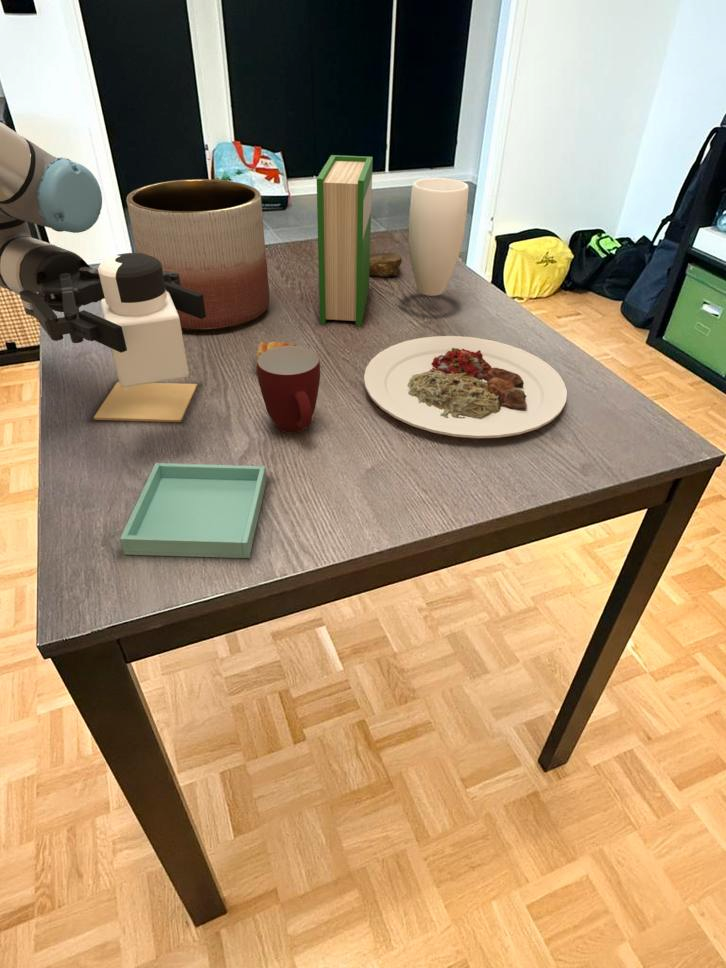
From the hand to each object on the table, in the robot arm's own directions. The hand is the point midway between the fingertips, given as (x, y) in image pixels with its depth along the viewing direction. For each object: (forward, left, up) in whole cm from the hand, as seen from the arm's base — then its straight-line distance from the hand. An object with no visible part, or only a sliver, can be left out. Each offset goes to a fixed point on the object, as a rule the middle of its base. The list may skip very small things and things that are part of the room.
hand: (163, 322), depth 68 cm
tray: (+4, -11, -18) cm, 22 cm away
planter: (-7, +46, -18) cm, 50 cm away
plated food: (+37, +19, -18) cm, 45 cm away
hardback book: (+18, +50, -18) cm, 56 cm away
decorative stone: (+24, +70, -18) cm, 76 cm away
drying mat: (-9, +13, -18) cm, 24 cm away
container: (-3, +2, -7) cm, 8 cm away
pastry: (+9, +25, -18) cm, 32 cm away
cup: (+34, +51, -18) cm, 64 cm away
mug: (+13, +7, -18) cm, 24 cm away
